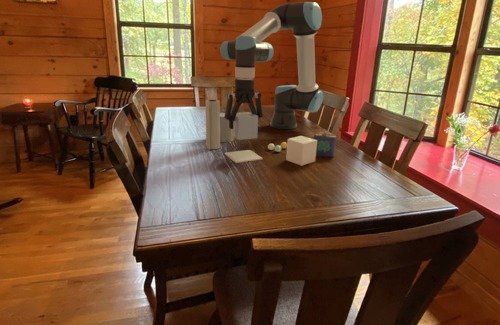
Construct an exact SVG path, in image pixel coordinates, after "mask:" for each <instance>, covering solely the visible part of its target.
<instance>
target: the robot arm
mask: <svg viewBox="0 0 500 325" xmlns="http://www.w3.org/2000/svg"><path fill="white" fill-rule="evenodd" d="M322 22H323V14H322V9H321V7H320V6H319V4H318V3H317V2H313V1H300V2H299V1H298V2H286V3H282V4H279V5H278V6H276V7H274V8H272V9H271V10H269V11H268V12H266V13H265V14H264V16H263V18H262V19H260V20H259V21H258V22H256V23H255V24H254V25H253V26H251V27H250V28H248V29H247V30H246V31H244V32H243V33H241V34H240V35H238V36H237V37H236V38H235V39H233V40H225V41H223V42H222V43H221V45H220V50H219V51H220V55H221V57H222V58H223V59H225V60H229V61H235V65H234V66H235V69H234V71H235V72H234V74H235V75H234V77H235V78H236V79H234V92H233V93H227V94H226V96H227V102H226V108H225V112H224V113H225V119H227V120H229V128H230V129H231V136H232V137H233V138H234V137H235V127H236V121H234V119H235V116H236V114H237V113H239V109H240V107H241V106H242V104H245V103H246V104H247V105H248V108H249V109H250V113H252V114H255V115H257V116H258V121H259V120H260V118H263V116H264V114H263V109H262V101H261V100H262V99H261V98H262V94H261V93H260V92H255V77H256V74H255V72H256V63H265V62H269V61H270V60H271V59H272V58H273V56H274V54H275V53H274V47H273V45H272V44H271V43H270V42H266V41H264V40H265V39H266V38H268V37H270V35H272V34H275V33H277V32H278V31H281V30H282V31H283V30H292V35H293V36H294V37H295V38H296V54H297V55H296V57H297V59H296V60H297V74H298V85H296V84H289V85H287V84H286V85H279V86H276V87H275V90H274V107H273V108H274V110H273V111H274V112H273V114H272V117H271V120H270V123H269V124H270V125H269V126H270V127H271V128H273V129H278V130H293V129H296V128H297V126H298V122H297V118H296V111H302V112H306V113H316V112H318V110H320V108H321V106H322V103H323V99H324V92H323V91H322V90H320V89H319V85H318V83H316V56H315V54H316V52H315V35H317V33H318V30H319V29H320V28H321V26H322ZM253 98H254V100H253ZM234 99H235V102H234ZM254 101H255V104H254ZM233 103H234V106H233Z"/></svg>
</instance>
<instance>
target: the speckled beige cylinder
mask: <svg viewBox="0 0 500 325" xmlns="http://www.w3.org/2000/svg"><path fill="white" fill-rule="evenodd" d="M234 139H235V138H234V137H232V136H231V135H230V128H229V120H227V119H225V112H220V143H230V141H231V142H234Z"/></svg>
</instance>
